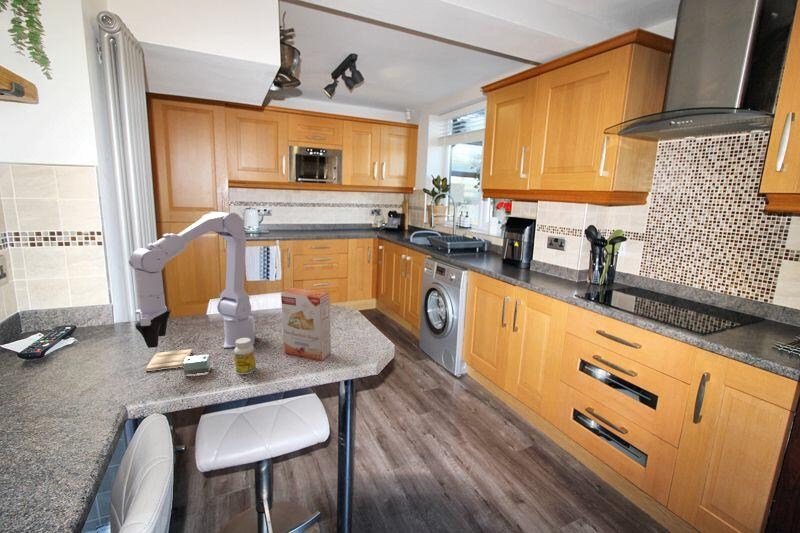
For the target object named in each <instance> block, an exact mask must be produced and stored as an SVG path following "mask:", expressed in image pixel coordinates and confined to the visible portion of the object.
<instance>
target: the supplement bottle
mask: <svg viewBox="0 0 800 533" xmlns="http://www.w3.org/2000/svg"><path fill="white" fill-rule="evenodd" d="M233 354H234V355H233V356H234V365H235V366H234V367H235V372H237V373H239V374H246V373H250V372H252V371H254V370H255V371H256V370H257V368H256V367H257V366H256V355H255V348H254V345H251V340H250V338H240V339H238V340H236V347H234V350H233ZM255 371H254V372H255ZM237 373H236V374H237ZM252 373H253V372H252ZM239 374H238V375H239ZM250 374H251V373H250Z"/></svg>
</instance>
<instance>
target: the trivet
mask: <svg viewBox="0 0 800 533" xmlns="http://www.w3.org/2000/svg"><path fill="white" fill-rule="evenodd" d="M191 353H192V354H193V349H192V348H189V349H182V350H181V349H179V350H171V351H162V352H155V353H154V355H153V357H152V358H151V359H150V361H149V363H148V364H147V366H146V367H145V372H146V371H147V370H154V369H161V368H169V367H179V366H183V363H184V361H185V358H186V357H188V356H190V355H191V356H192V354H191Z"/></svg>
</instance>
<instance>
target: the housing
mask: <svg viewBox="0 0 800 533" xmlns="http://www.w3.org/2000/svg"><path fill="white" fill-rule="evenodd" d="M210 366H212V365H211V357H210V354H209V353H207V354H206V353H205V354H199V355H191V356H188V357H186V358H185V361H184V363H183V367H184V368H183V375H184V376H185V375H187V374H197V373H205V372H209V373H210V371H209V369H210V370H211V368H210Z"/></svg>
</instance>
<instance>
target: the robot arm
mask: <svg viewBox="0 0 800 533" xmlns="http://www.w3.org/2000/svg"><path fill="white" fill-rule="evenodd" d="M244 228H245V220H244V219H243V218H242V217H241V216H240V215H239V214H238V213H236V212H222V211H217V210H213V211H209V213H206V214H204V215H202V217H201V218H199V220H197V221H196V222H194V223H192V224H191V225H189V226H188V227H187V228H185V229H184V230H182V231H181V232H179V233H172V232H171V233H165V234H162V238H160V239H158V240H157V241H155V242H153V243H148V244H146V246H147V247H146V248H138V249H136V250H134V251H133V252H132V254H131V255H130V259H129V260H128V263H129V266H130V267H131V268H132V269H133V270H134V272H135V280H136V289H137V295H138V302H139V309H136V310H135V311H134V313H135V315H139V316H140V319H139V322H138V321H137V323H136V324H135V325H134V326H135V329H136V330H137V331H139V333H140V334H141V336H142V337H143V340H144V343H145V344H146V347H147V348H148V349H151V348H153V349H154V348H158V346H159V339H160V338H159V337H165V336H166V335H167V326H168V320H169V317H170V315H171V312H172V310H171V308H167V306H166V299H165V291H164V283H163V281H164V280H163V275H162V274H163V273H162V270H164V268H165V266H166V264H167V262H168V261H170V260H171V259H173V258H174V257H177V255H180V254H181V253H183V252H184V251H185V250H186V248H187V247H186V246H187V244H189V243H191V242H193V241H195V240H197V239H198V238H200V237H202V236H203V235H205V234H207V233H210V232H211V233H212V232H214V233H216V234H218V235H219V236H221V237H222V238H223V239H224V240H225V241H226V242H227V244H226V245H227V246H226V266H225V268H226V269H225V271H226V272H225V289H224V290H222V292H220V297H219V300H218V302H217V306H216V308H217V312H218V313H219V314H221V318H222V319H223V329H224V336H225V337H224V338H225V339H224V343H223V346H222V347H223V349H230V348H231V349H232V348H236V340H238V339H240V338H250V340H251V345H252V346H254V345H255V341H256V328H255V318H254V316H253V315H250V314H251V312H252V304H251V302H250V295H249V294H248V293H247V292H246V290H245V289H244V288H245V287H244V286H245V272H246V271H245V268H246V248H247V235H246V232H245V229H244Z"/></svg>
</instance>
